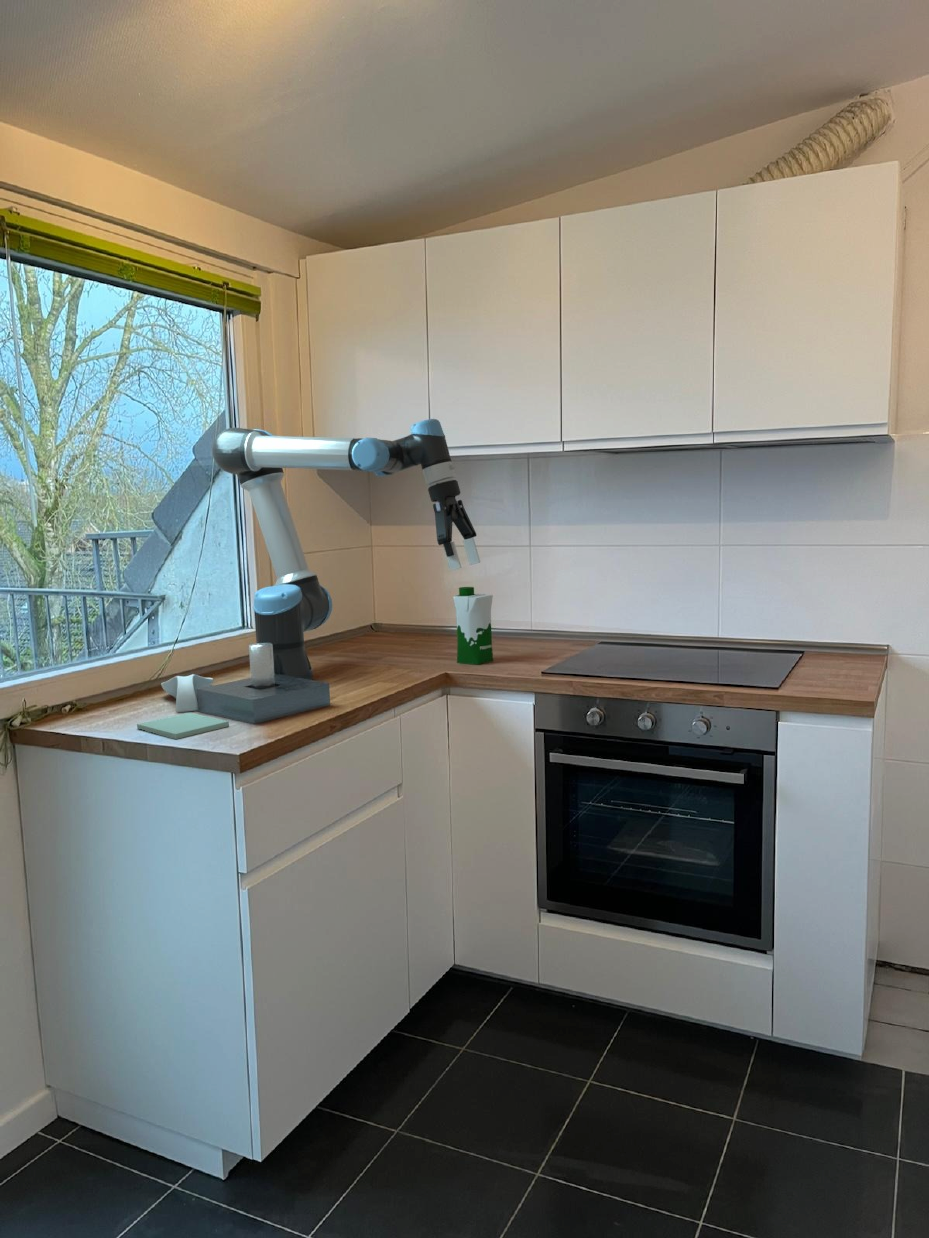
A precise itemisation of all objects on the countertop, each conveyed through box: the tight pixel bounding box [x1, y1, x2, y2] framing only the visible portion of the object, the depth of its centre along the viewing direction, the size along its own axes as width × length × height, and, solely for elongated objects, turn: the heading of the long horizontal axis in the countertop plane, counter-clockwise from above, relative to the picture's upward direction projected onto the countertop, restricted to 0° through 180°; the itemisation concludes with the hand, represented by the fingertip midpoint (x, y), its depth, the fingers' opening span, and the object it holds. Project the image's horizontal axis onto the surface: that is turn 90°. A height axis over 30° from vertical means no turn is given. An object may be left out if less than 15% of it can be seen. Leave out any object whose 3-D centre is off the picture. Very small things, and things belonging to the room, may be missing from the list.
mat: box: [136, 711, 230, 740], centre depth 185 cm, size 14×12×1 cm
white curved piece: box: [160, 673, 214, 713], centre depth 210 cm, size 24×12×7 cm, turn 17°
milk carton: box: [452, 586, 494, 666], centre depth 247 cm, size 9×9×20 cm
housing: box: [197, 674, 331, 725], centre depth 200 cm, size 20×20×5 cm
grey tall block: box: [248, 643, 275, 690], centre depth 199 cm, size 5×5×14 cm
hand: (465, 566), depth 227 cm, fingers open, 13 cm apart
